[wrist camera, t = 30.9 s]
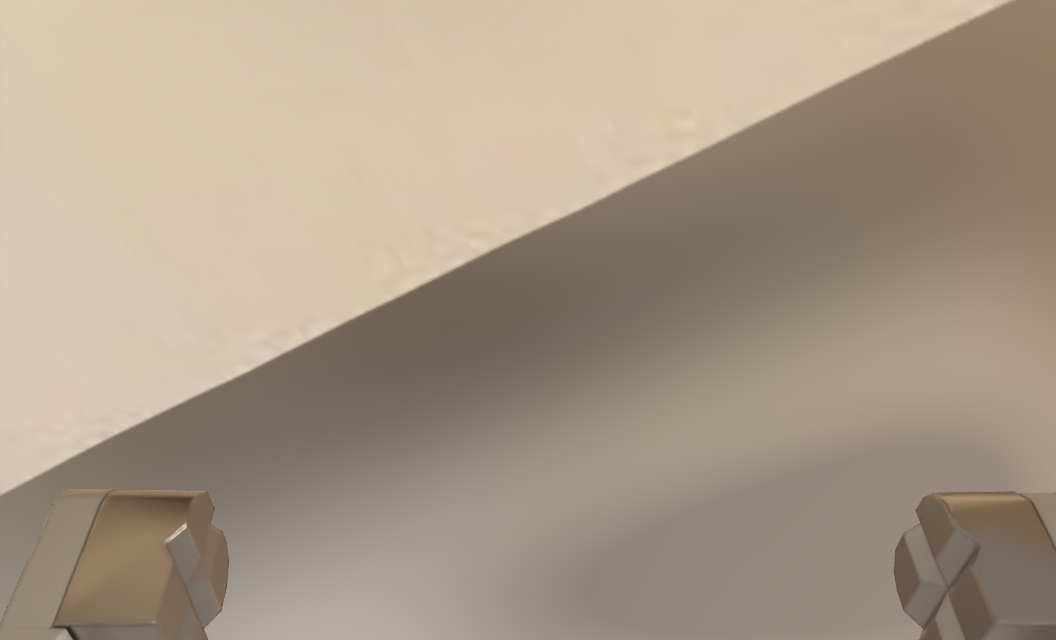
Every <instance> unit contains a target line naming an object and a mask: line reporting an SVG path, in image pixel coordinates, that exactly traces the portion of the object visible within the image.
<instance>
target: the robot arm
mask: <svg viewBox="0 0 1056 640" xmlns="http://www.w3.org/2000/svg"><path fill="white" fill-rule="evenodd" d="M916 512H917V515H918V518H919V521H920V523H919V524H918V525H916V526H914V527H913V528H911V529H909V530H908V531H906V532H904V533H903V535H902V537H901V539H900V541H899V543H898V545H897V548H896V550H895V563H894V575H895V581H896V587H897V592H898V595H899V598H900V601H901V604H902V607H903V610H904V612H905V613H907V614H908V615H909V616H910V617H911V618H912V619H913V620H914V621H915V622H916V623H917V624H918V625H920V626H921V627H922V628H923V631H922V634H921V636H920V639H919V640H1056V493H1015V492H955V493H954V492H951V493H931V494H929V495H927V496H925V497H923V499H922V501H921V502H920V504H919V506H918V508H917V510H916ZM213 513H214V506H213V504H212V501H211V499H210V497H209V494H208V492H207V491H150V490H147V491H146V490H114V489H65V490H64V492H62V494H61V495H60V496H59V497H58V498H57V499H56V501H55V502H54V503H53V504H52V506H51V508H50V511H49V513H48V515H47V518H46V520H45V522H44V524H43V527H42V529H41V531H40V534H39V536H38V538H37V540H36V542H35V545H34V547H33V549H32V552H31V554H30V556H29V558H28V561H27V563H26V565H25V567H24V570H23V572H22V574H21V577H20V579H19V581H18V583H17V586H16V588H15V590H14V592H13V595H12V597H11V599H10V602H9V604H8V606H7V608H6V611H5V613H4V615H3V617H2V620H1V622H0V640H208V638H207V636H206V633H205V631H204V628H205V627H206V626H207V625H208V624H209V623H210V622H211V621H212V620H213V619H214V618H215V617H216V616H217V615H218V614H219V613H220V612H221V610H222V606H223V601H224V597H225V593H226V589H227V579H228V566H229V558H228V549H227V543H226V540H225V537H224V534H223V531H221V530H220V529H218V528H216V527H215V526H214V525H212V524H211V520H212V516H213Z"/></svg>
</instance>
